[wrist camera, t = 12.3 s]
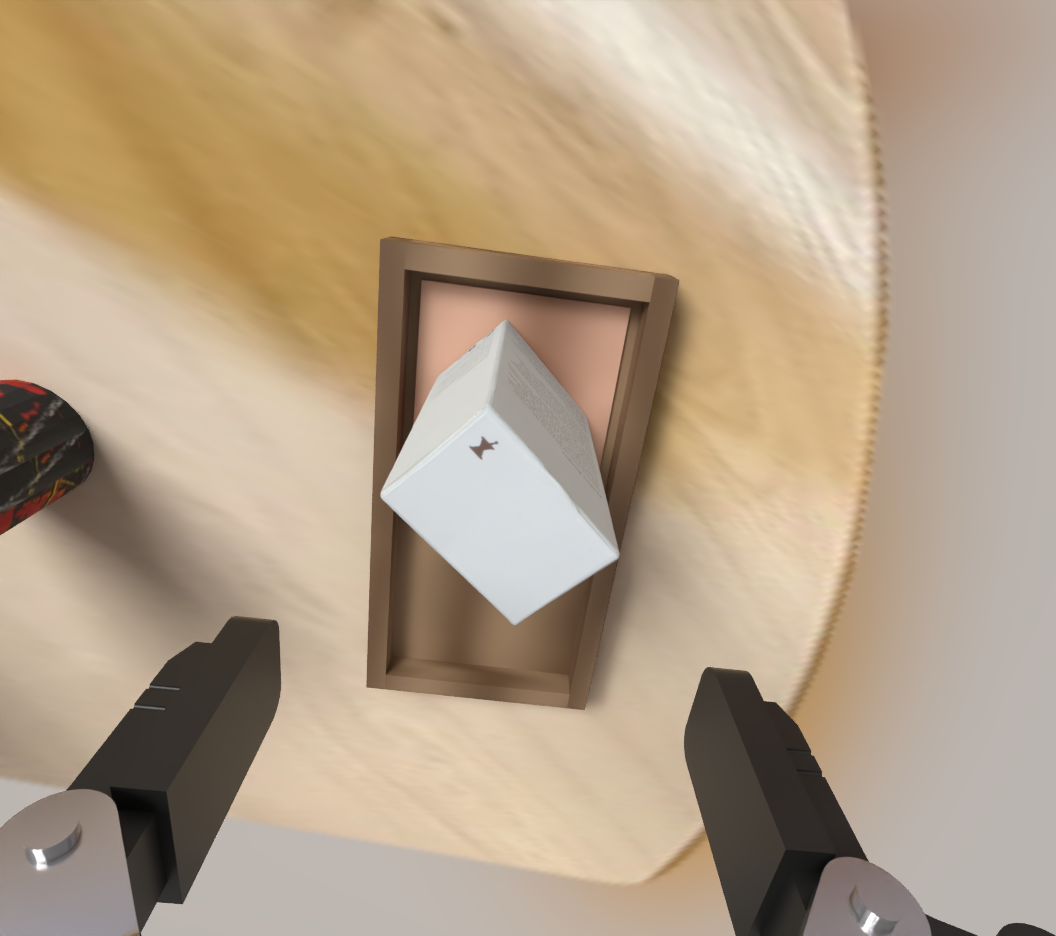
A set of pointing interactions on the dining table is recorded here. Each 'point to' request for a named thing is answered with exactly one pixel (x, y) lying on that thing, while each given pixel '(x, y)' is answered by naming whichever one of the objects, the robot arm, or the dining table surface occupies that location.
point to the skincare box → (505, 478)
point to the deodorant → (38, 450)
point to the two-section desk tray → (616, 429)
